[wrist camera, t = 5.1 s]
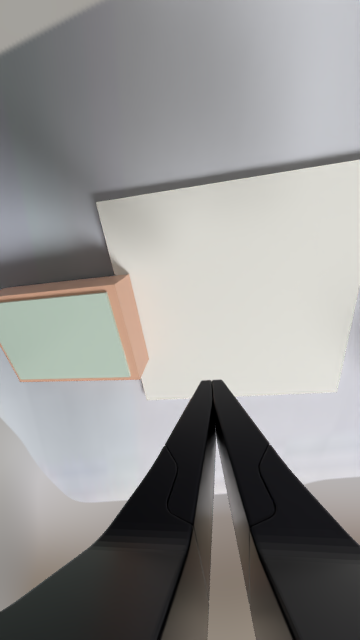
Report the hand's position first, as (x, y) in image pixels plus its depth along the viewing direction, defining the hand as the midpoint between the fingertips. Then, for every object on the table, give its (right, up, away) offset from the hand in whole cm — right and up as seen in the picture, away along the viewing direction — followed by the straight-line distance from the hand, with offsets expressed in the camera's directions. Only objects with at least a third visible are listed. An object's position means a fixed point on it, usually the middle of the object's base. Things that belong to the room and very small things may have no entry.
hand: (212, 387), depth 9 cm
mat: (+3, +4, +7) cm, 8 cm away
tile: (-4, +2, +6) cm, 8 cm away
